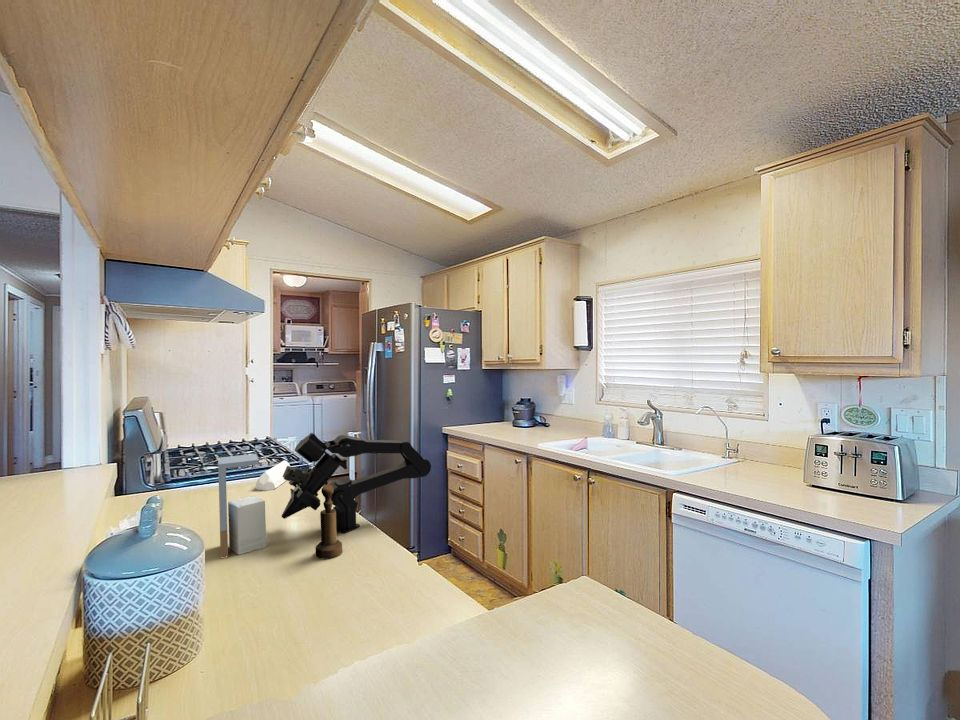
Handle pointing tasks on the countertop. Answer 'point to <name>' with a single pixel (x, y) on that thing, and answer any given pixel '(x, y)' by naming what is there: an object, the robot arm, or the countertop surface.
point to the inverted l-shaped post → (222, 465)
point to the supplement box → (247, 524)
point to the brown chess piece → (328, 528)
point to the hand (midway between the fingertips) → (282, 517)
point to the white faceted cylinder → (272, 477)
